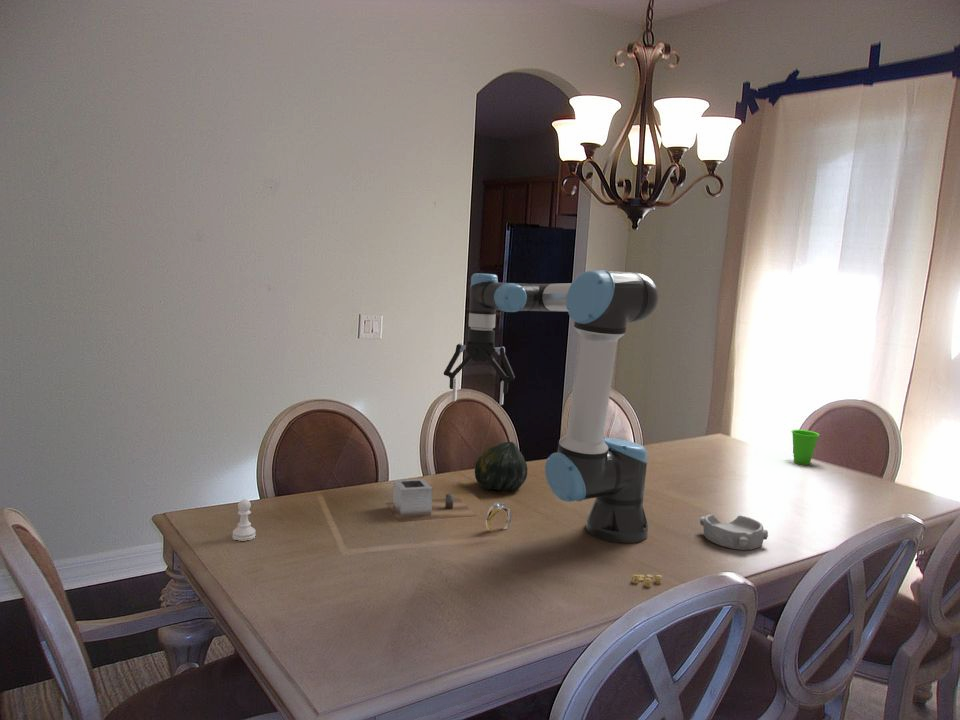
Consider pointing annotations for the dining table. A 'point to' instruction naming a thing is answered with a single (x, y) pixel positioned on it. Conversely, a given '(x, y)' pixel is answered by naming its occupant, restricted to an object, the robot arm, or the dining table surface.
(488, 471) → the squash
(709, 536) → the dish
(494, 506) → the bracelet
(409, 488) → the white open box
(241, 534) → the chess pawn
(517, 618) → the dining table surface
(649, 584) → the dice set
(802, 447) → the cup
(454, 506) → the peg board
